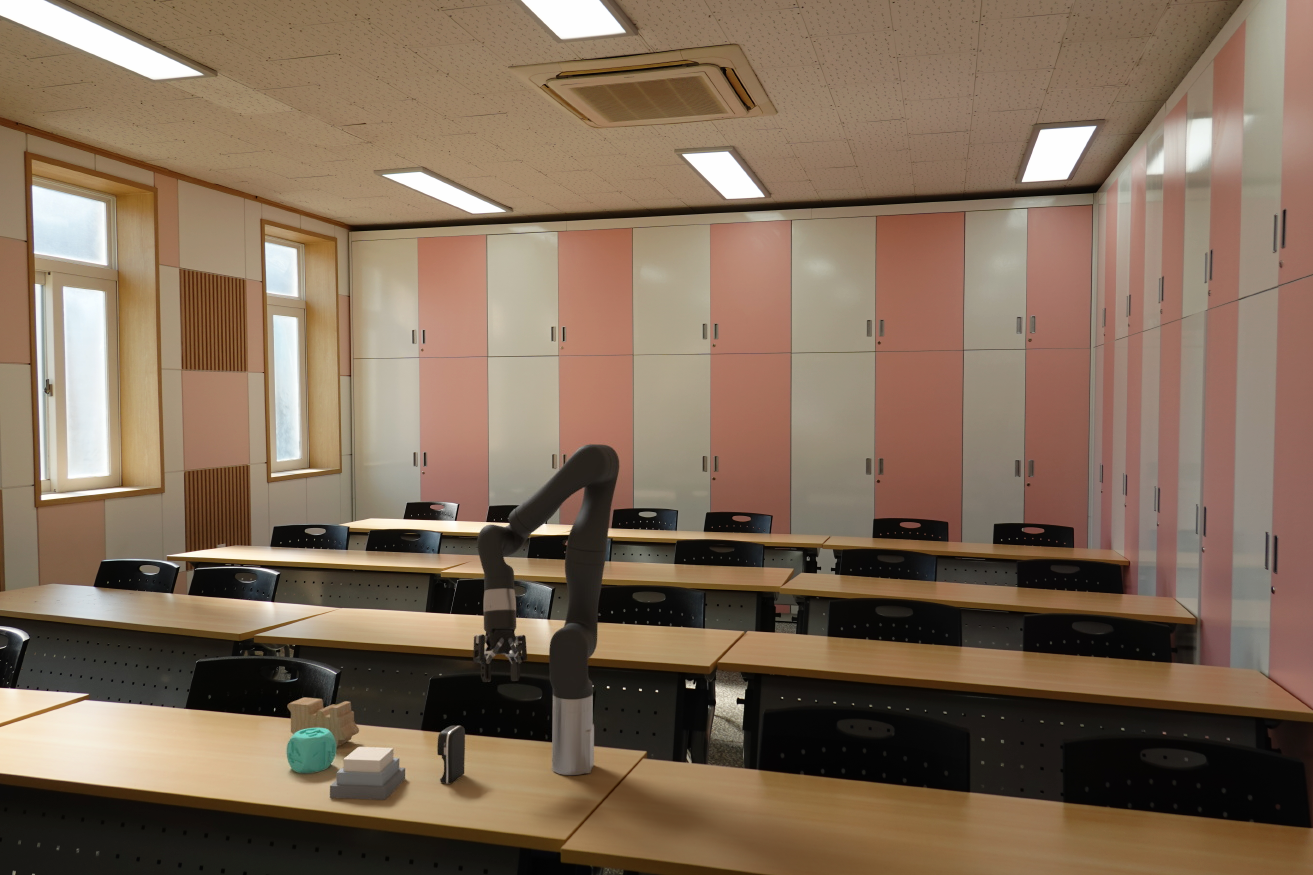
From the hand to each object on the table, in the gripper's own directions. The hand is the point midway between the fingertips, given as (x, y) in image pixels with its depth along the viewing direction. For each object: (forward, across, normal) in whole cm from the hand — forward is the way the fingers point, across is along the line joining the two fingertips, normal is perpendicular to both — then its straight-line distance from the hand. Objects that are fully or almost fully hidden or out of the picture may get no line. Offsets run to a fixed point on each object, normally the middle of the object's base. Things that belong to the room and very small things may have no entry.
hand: (501, 680), depth 211 cm
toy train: (+11, -13, +52) cm, 55 cm away
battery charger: (+21, -8, +9) cm, 24 cm away
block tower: (+21, -22, +18) cm, 36 cm away
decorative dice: (+16, -24, +39) cm, 48 cm away
